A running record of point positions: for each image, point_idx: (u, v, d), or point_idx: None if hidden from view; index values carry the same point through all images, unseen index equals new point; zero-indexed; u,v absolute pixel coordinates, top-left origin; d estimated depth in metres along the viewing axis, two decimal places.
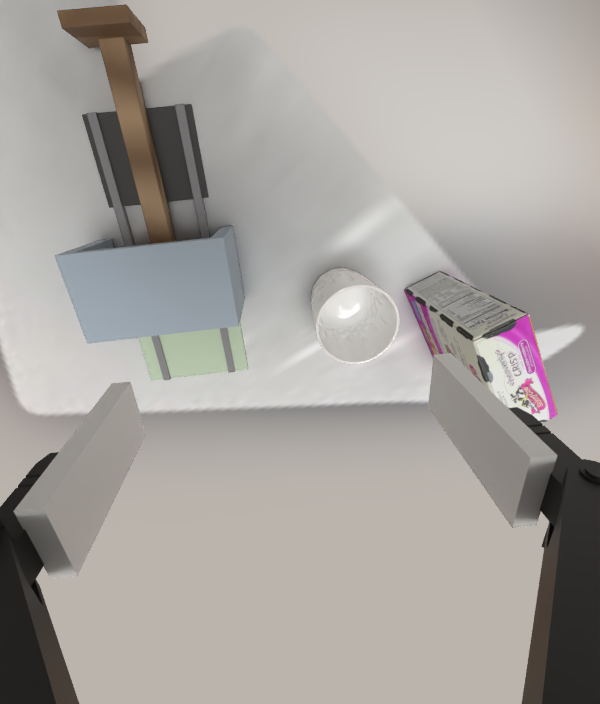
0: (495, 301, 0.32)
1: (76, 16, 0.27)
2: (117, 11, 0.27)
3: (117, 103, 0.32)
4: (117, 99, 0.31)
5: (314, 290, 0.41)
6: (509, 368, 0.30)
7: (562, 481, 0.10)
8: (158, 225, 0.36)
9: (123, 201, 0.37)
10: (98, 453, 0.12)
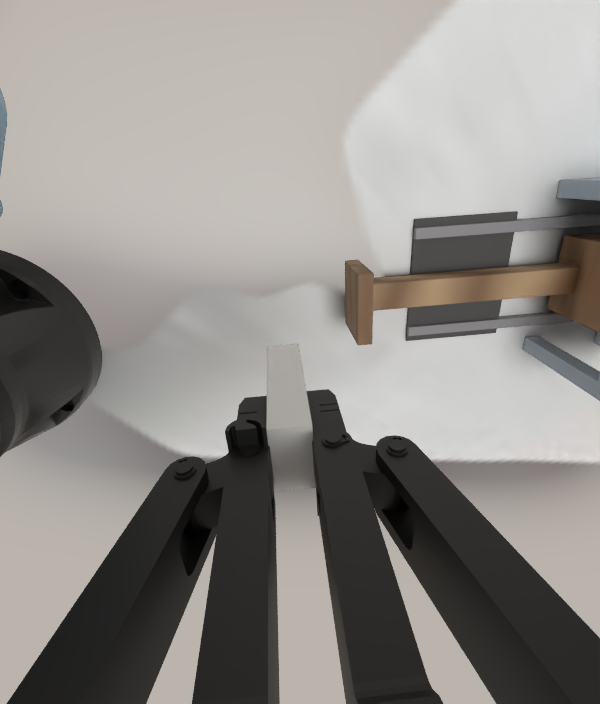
0: None
1: (363, 328, 0.25)
2: (363, 285, 0.24)
3: (420, 303, 0.28)
4: (416, 302, 0.28)
5: None
6: None
7: (314, 456, 0.11)
8: (551, 280, 0.28)
9: (494, 316, 0.32)
10: None
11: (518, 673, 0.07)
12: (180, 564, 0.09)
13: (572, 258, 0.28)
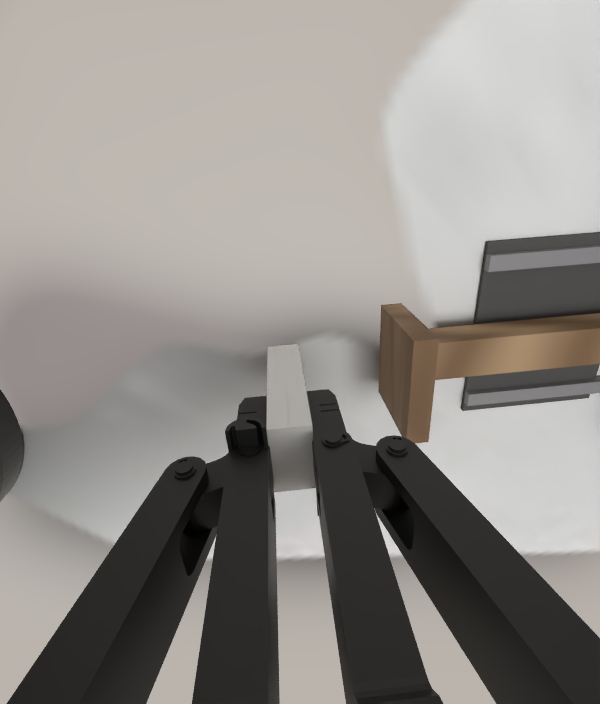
0: None
1: (417, 420, 0.16)
2: (421, 357, 0.14)
3: (496, 369, 0.18)
4: (490, 368, 0.18)
5: None
6: None
7: (313, 456, 0.11)
8: None
9: (589, 376, 0.22)
10: None
11: (518, 673, 0.07)
12: (179, 564, 0.09)
13: None
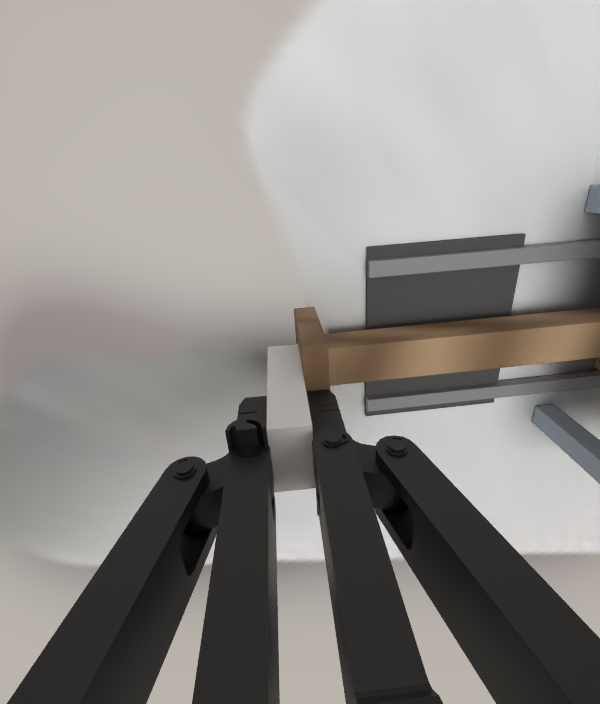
0: None
1: None
2: (312, 362, 0.14)
3: (409, 373, 0.18)
4: (404, 372, 0.18)
5: None
6: None
7: (313, 456, 0.11)
8: None
9: (491, 381, 0.22)
10: None
11: (518, 673, 0.07)
12: (179, 564, 0.09)
13: None
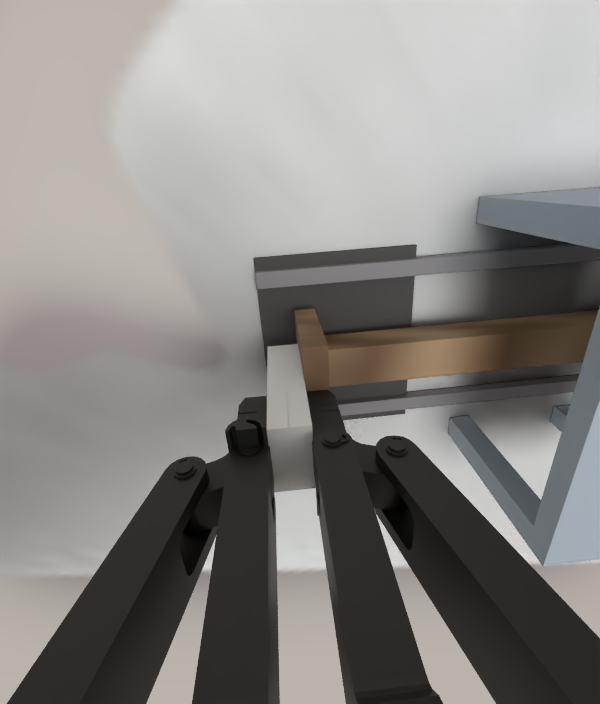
0: None
1: None
2: (312, 364, 0.14)
3: (409, 374, 0.18)
4: (404, 373, 0.18)
5: None
6: None
7: (313, 456, 0.11)
8: None
9: (399, 392, 0.22)
10: None
11: (518, 673, 0.07)
12: (180, 564, 0.09)
13: None
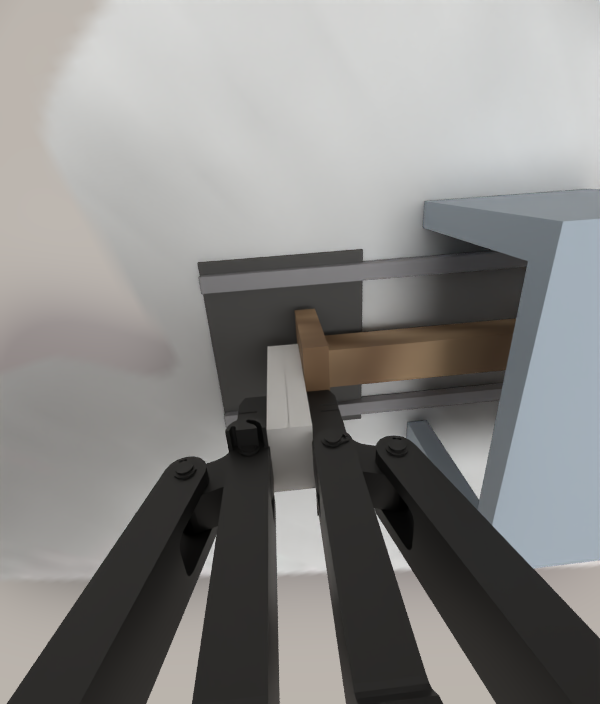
0: None
1: None
2: (312, 364, 0.14)
3: (410, 375, 0.18)
4: (404, 374, 0.18)
5: None
6: None
7: (313, 456, 0.11)
8: None
9: (354, 397, 0.22)
10: None
11: (517, 673, 0.07)
12: (180, 564, 0.09)
13: None
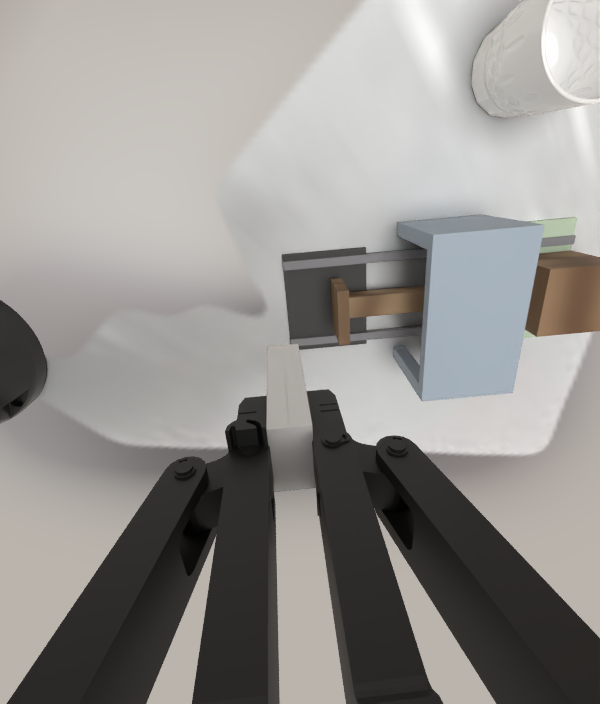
0: None
1: (343, 331, 0.33)
2: (341, 299, 0.32)
3: (390, 312, 0.35)
4: (387, 311, 0.35)
5: (500, 111, 0.29)
6: None
7: (314, 456, 0.11)
8: None
9: (362, 330, 0.39)
10: None
11: (518, 673, 0.07)
12: (180, 564, 0.09)
13: None
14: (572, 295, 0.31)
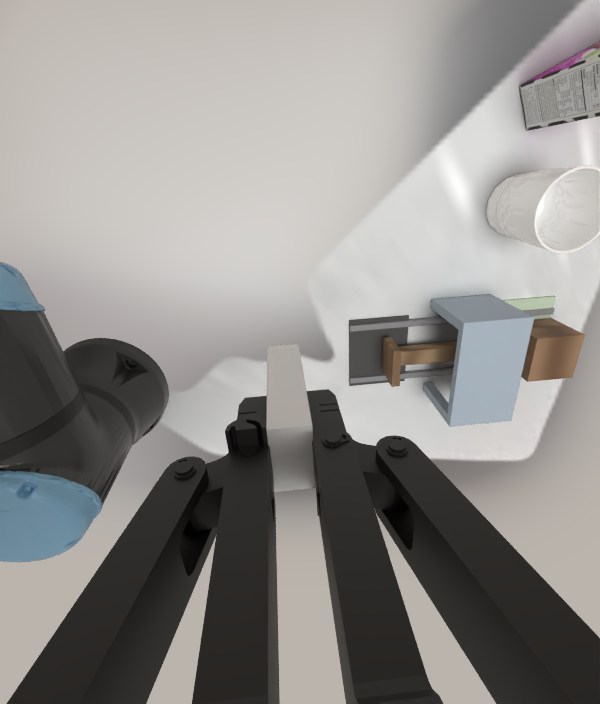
0: None
1: (395, 377, 0.47)
2: (396, 356, 0.46)
3: (425, 361, 0.49)
4: (423, 361, 0.49)
5: (505, 234, 0.44)
6: None
7: (313, 456, 0.11)
8: None
9: (402, 371, 0.53)
10: None
11: (518, 673, 0.07)
12: (180, 564, 0.09)
13: None
14: (552, 355, 0.46)
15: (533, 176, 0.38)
